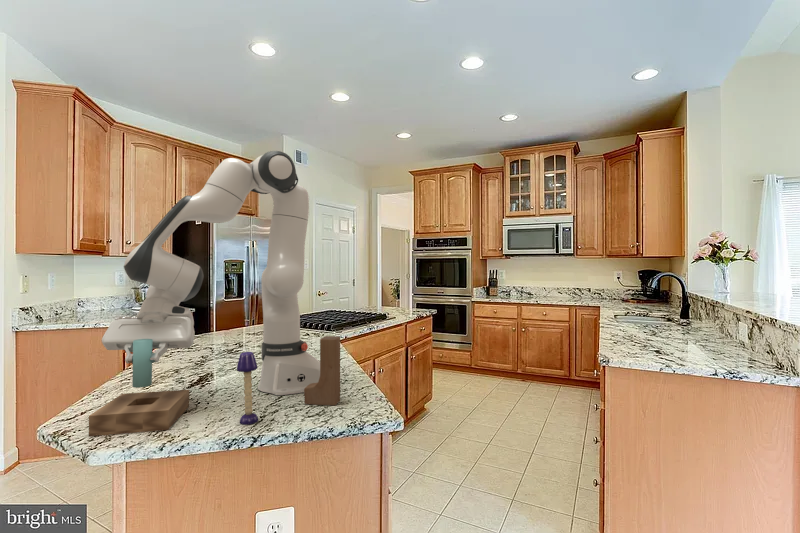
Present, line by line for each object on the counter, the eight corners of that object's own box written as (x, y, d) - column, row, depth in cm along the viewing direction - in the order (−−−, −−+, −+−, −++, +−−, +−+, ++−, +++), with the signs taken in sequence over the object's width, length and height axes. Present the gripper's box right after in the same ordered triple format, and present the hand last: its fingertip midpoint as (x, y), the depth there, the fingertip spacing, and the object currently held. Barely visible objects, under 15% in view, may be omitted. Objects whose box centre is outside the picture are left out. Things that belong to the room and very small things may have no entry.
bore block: (189, 406, 107) (189, 389, 107) (168, 429, 92) (168, 410, 92) (122, 411, 104) (122, 393, 104) (88, 436, 88) (88, 415, 88)
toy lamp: (250, 426, 94) (250, 355, 94) (232, 424, 94) (232, 354, 95) (261, 418, 98) (261, 350, 98) (244, 417, 99) (244, 350, 99)
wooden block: (303, 404, 108) (303, 338, 108) (309, 399, 113) (309, 335, 113) (335, 406, 107) (335, 339, 107) (340, 400, 112) (340, 336, 112)
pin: (154, 382, 100) (155, 338, 100) (148, 387, 96) (148, 341, 96) (136, 383, 99) (137, 339, 99) (129, 388, 95) (130, 341, 95)
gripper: (109, 309, 102) (87, 356, 93) (196, 308, 107) (184, 353, 97) (117, 324, 107) (97, 370, 97) (200, 323, 111) (189, 367, 101)
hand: (141, 361), depth 97 cm, fingers closed on pin, 4 cm apart
